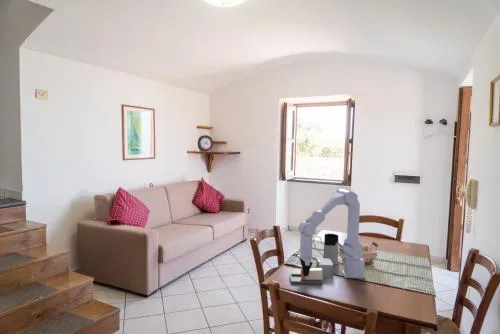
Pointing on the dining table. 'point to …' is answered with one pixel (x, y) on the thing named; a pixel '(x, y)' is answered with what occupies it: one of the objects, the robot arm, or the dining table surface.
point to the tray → (297, 280)
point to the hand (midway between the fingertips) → (305, 274)
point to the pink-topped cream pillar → (312, 274)
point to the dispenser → (325, 267)
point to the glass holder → (330, 247)
